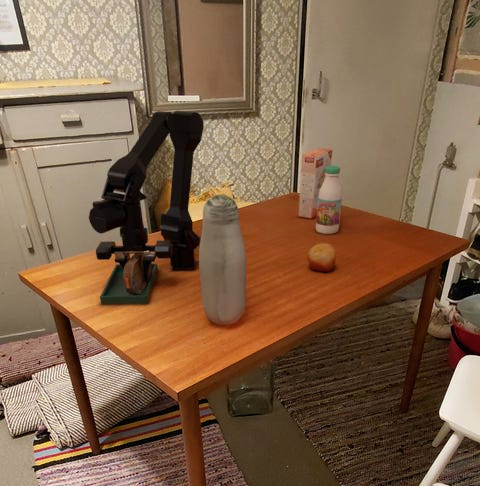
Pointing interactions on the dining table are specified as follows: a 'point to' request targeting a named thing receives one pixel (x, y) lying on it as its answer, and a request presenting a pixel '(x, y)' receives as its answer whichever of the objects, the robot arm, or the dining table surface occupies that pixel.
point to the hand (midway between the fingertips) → (139, 281)
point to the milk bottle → (329, 202)
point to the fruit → (322, 257)
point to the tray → (117, 291)
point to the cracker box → (312, 180)
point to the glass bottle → (222, 261)
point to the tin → (135, 274)
